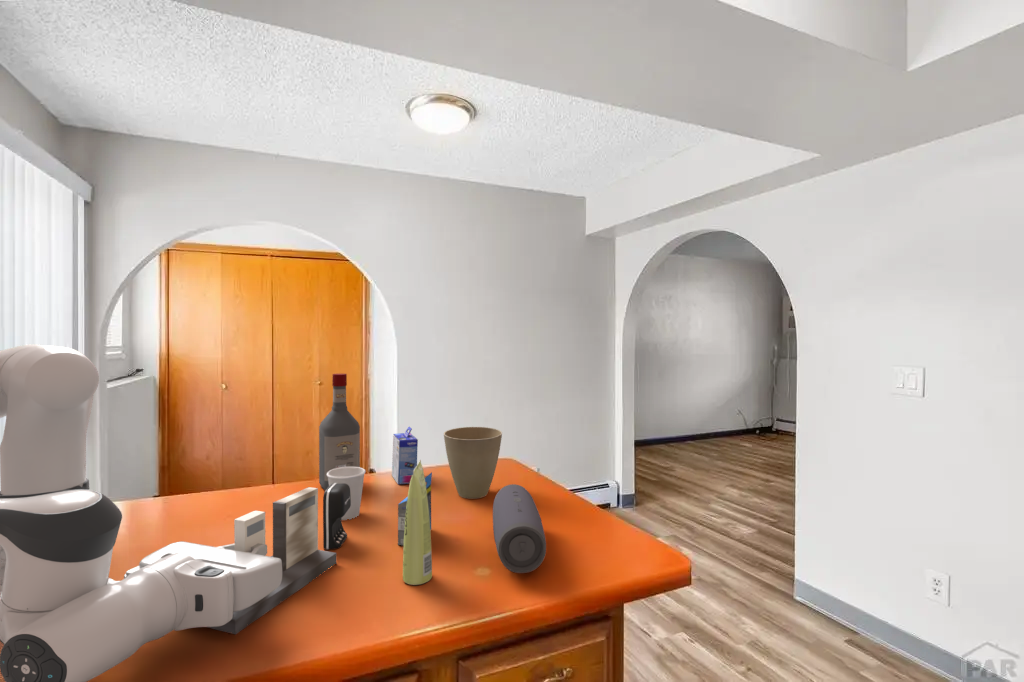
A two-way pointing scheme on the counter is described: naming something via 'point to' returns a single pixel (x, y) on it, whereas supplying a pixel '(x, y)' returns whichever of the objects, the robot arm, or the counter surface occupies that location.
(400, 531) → the label tape cartridge
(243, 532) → the white tall block
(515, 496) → the bluetooth speaker
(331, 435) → the liquor
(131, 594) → the robot arm
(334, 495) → the battery charger
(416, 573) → the tube
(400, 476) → the ink cartridge box
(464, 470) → the plant pot
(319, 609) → the counter surface
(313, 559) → the ticket holder
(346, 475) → the dixie cup
